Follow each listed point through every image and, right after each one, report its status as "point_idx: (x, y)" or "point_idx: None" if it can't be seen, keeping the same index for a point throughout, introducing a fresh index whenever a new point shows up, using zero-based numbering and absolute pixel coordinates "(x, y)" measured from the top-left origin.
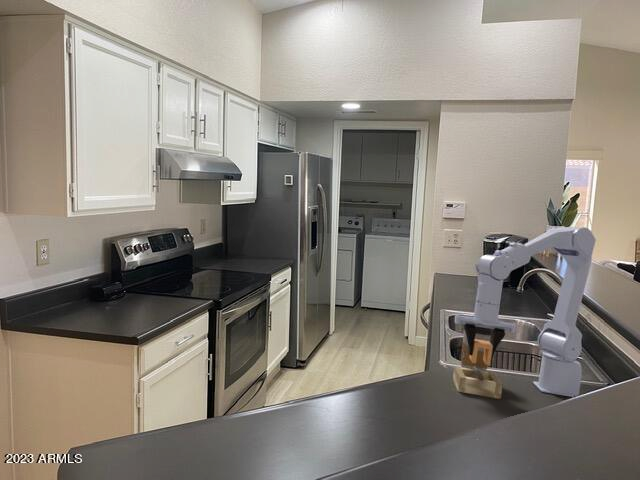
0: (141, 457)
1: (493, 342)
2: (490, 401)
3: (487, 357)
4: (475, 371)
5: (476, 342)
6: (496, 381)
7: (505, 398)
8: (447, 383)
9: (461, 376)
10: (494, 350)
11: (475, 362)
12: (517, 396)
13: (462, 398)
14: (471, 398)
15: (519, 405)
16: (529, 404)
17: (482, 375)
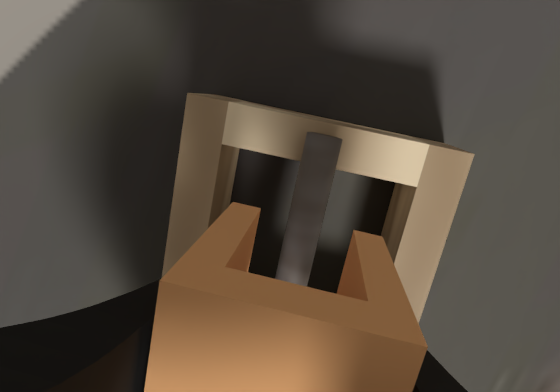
0: None
1: (120, 344)
2: (298, 29)
3: (246, 241)
4: (310, 270)
5: (384, 386)
6: (207, 152)
7: (179, 115)
8: (450, 269)
9: (451, 178)
10: (141, 291)
11: (359, 231)
12: (95, 172)
13: (472, 21)
14: (406, 42)
15: (139, 19)
16: (72, 59)
17: (308, 156)
